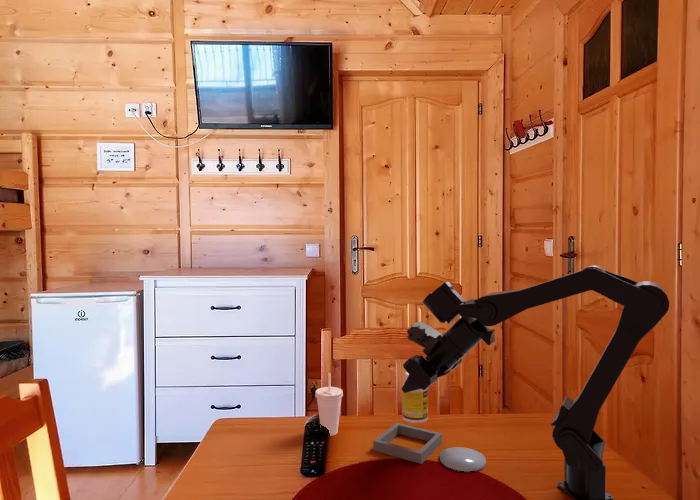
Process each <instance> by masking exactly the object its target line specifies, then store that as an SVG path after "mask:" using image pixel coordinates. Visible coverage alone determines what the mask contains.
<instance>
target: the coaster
mask: <svg viewBox="0 0 700 500" xmlns="http://www.w3.org/2000/svg"><path fill="white" fill-rule="evenodd" d="M439 461H440V464H442V465H443V466H444V467H446V468H447V469H450V468H451V469H450V470H452V469H453V470H452V471H456V470H457V471H456V472H460V471H464V472H463V473H471V472H470V471H475V472H478V471H481V470H483V469H484V468H485V467H486V466H487V459H486V457H485V456H484V454H483V453H481V452H479V451H477V450H476V449H472V448H468V447H463V446H459V447H458V446H455V447H454V446H453V447H449V448H445V449H443V450H442V451H441V452H440V454H439Z"/></svg>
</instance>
